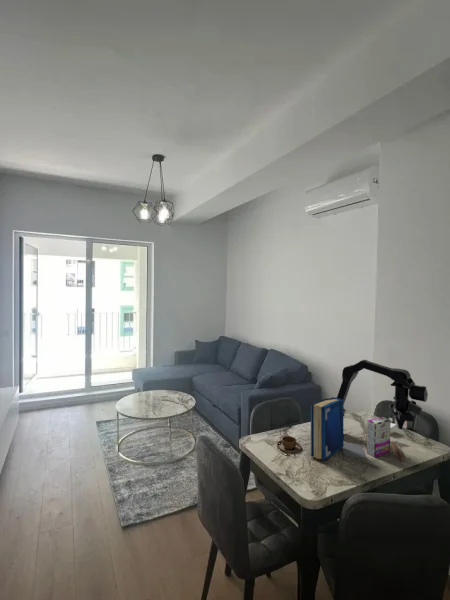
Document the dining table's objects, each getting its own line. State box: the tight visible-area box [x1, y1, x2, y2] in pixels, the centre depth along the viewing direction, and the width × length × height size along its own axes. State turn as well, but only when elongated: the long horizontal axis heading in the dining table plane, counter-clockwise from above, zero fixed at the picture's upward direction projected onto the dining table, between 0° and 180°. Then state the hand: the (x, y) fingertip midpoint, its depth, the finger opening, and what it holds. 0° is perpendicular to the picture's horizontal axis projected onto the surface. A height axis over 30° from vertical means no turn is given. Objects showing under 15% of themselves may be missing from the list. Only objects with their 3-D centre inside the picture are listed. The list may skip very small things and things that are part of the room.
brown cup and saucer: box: [276, 435, 307, 457], centre depth 161 cm, size 18×20×6 cm
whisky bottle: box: [388, 417, 408, 430], centre depth 186 cm, size 10×6×30 cm
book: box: [310, 396, 345, 462], centre depth 159 cm, size 22×7×25 cm, turn 135°
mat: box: [341, 442, 368, 459], centre depth 162 cm, size 10×14×1 cm
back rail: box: [391, 441, 405, 463], centre depth 159 cm, size 1×14×3 cm, turn 168°
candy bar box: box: [366, 416, 392, 458], centre depth 160 cm, size 11×5×16 cm, turn 117°
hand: (400, 428), depth 158 cm, fingers closed
